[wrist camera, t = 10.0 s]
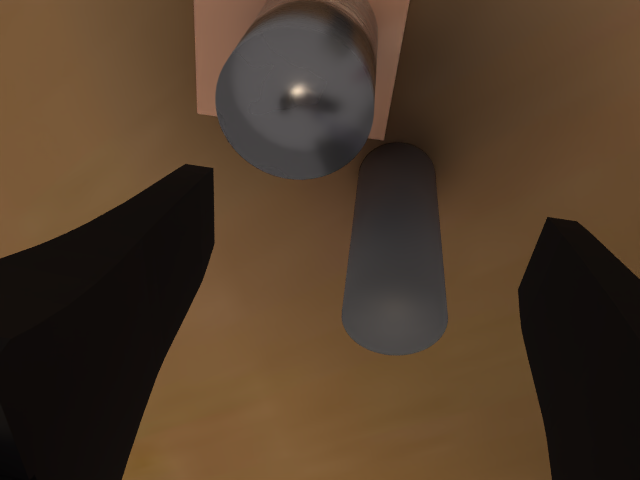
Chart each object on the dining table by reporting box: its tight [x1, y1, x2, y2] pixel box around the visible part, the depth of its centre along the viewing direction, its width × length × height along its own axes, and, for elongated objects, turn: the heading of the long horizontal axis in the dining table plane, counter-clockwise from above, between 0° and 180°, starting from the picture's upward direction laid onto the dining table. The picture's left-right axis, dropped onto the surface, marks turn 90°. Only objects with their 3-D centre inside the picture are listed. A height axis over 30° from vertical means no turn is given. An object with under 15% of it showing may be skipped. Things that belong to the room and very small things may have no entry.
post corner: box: [342, 143, 448, 355], centre depth 20 cm, size 3×3×8 cm
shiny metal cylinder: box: [215, 0, 378, 180], centre depth 17 cm, size 4×4×6 cm
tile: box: [194, 0, 410, 140], centre depth 20 cm, size 7×7×1 cm
